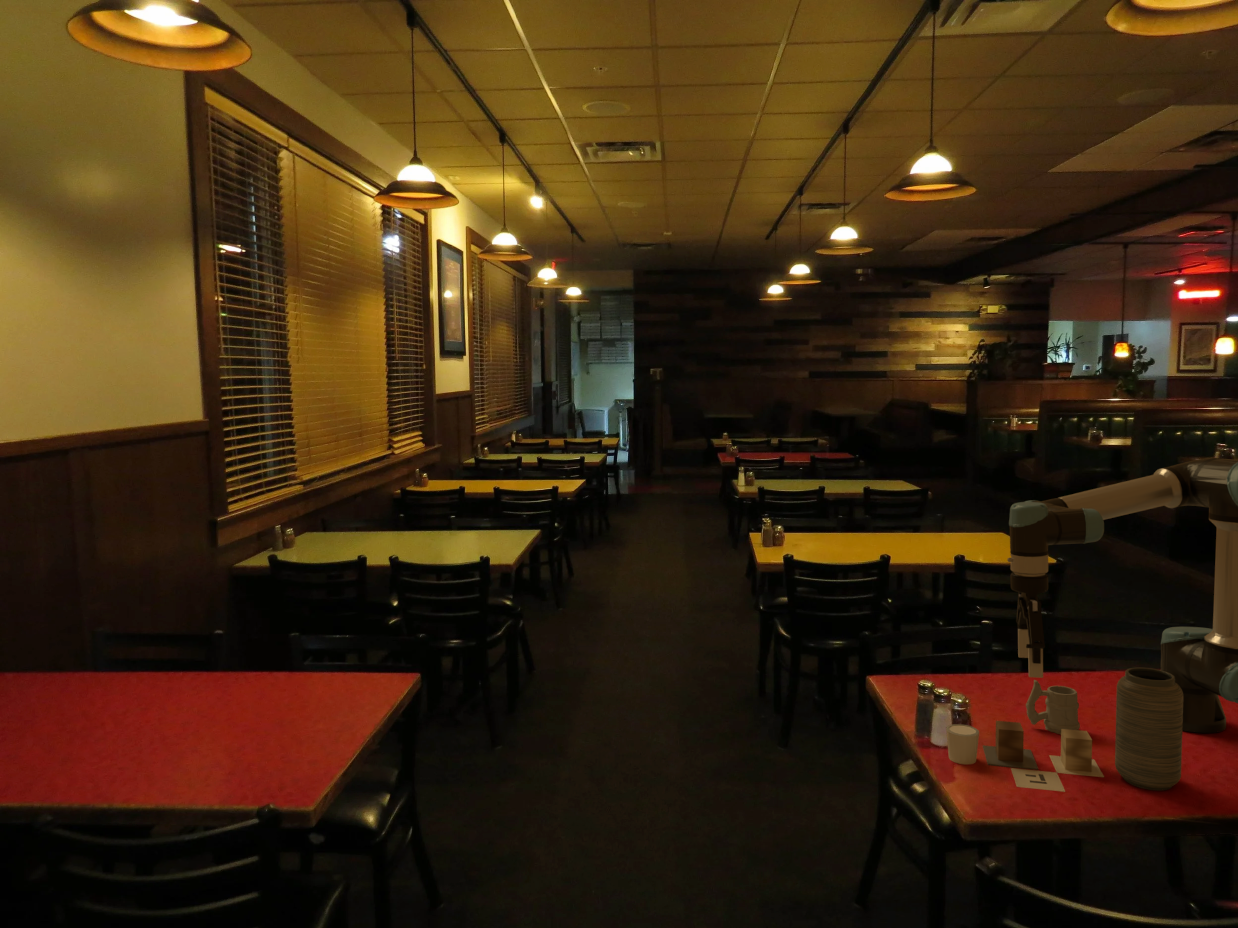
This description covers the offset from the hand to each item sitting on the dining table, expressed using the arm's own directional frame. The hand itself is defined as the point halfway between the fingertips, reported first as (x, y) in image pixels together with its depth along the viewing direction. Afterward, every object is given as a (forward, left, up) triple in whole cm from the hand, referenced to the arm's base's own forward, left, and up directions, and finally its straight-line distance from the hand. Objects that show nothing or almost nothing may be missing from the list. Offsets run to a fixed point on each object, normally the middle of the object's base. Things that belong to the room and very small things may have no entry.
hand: (1030, 666), depth 190 cm
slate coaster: (+4, +4, -20) cm, 21 cm away
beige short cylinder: (+14, +7, -20) cm, 26 cm away
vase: (-21, +9, -20) cm, 30 cm away
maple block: (-9, +5, -20) cm, 22 cm away
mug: (-8, -16, -20) cm, 27 cm away
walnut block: (+5, +4, -20) cm, 20 cm away
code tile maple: (-9, +5, -20) cm, 22 cm away
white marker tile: (0, +14, -20) cm, 24 cm away
